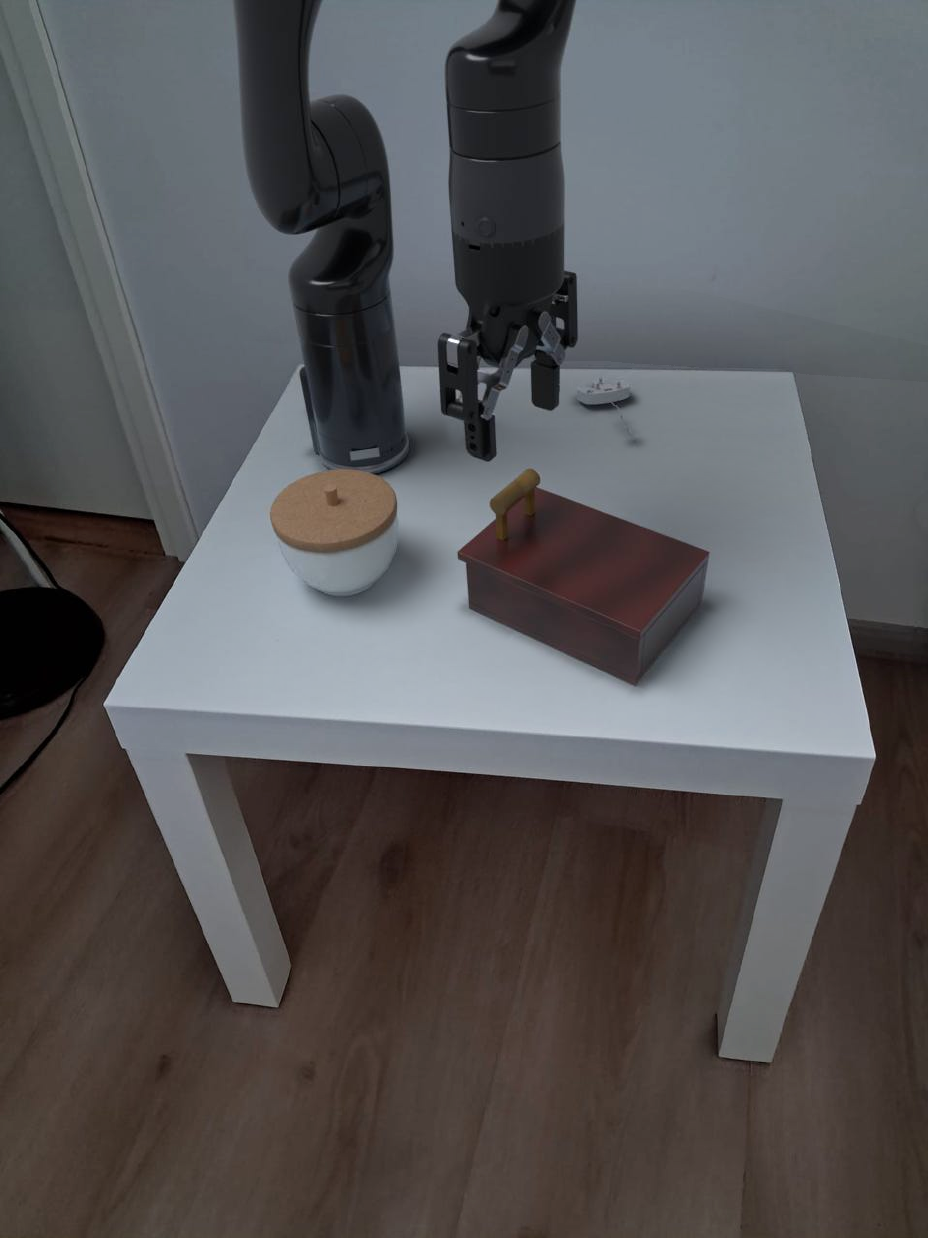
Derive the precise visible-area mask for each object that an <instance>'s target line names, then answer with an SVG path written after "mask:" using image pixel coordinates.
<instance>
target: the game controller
mask: <svg viewBox="0 0 928 1238" xmlns="http://www.w3.org/2000/svg"><path fill="white" fill-rule="evenodd" d="M629 397H630V383H629V382H628V380H626V379H619V380H616V381H615V383H613V384H612V383H610V382H608V381H606V380H604V379H603V378H602V377H599V378H594V379H592V387H589V386H578V387H576V400H578V402H581V403H582V404H585V405H603V404H609V403H611V404H612V406H613V407H616V409H617V411H618V413H619V415H620V420H621V422H622V425H623V426H624V428H625V429H626V430H629V432H630V434H631V435H632V438H633V443H636V439H635V434H634V433H633V431H632V430H631V429H630V428H629V427H627V426H626V424H625V423H624V420H623V415H622V412H621V409H620V408H619V407H618V405H615V404H614V402H618V401H622V400H626V399H628V398H629Z"/></svg>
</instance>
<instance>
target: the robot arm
mask: <svg viewBox="0 0 928 1238" xmlns="http://www.w3.org/2000/svg"><path fill="white" fill-rule="evenodd" d="M323 2H324V0H232V8H233V19H234V27H235V38H236V39H235V40H236V53H237V73H238V89H239V91H238V92H239V106H240V107H239V110H240V126H241V137H242V138H241V140H242V151H243V157H244V163H245V171H246V175H247V180H248V183H249V186H250V187H249V188H250V190H251V194H252V195H253V198H254V200H255V202H256V205H257V208H258V209H259V212H260V213H261V215H262V216H263V218H264V219H265V221H266V222H267V223H268V224H269V225H270V226H271V227H272V228H273V229H275V230H276V231H277V232H279V233H282V234H284V235H288V236H297V235H302V234H306V233H309V232H312V231H315V230H316V231H315V232H314V235H313V237H312V239H310V241H309V242H308V244H307V245H306V246H305V247H304V249H303V250H302V251H301V252H300V253H299V254H298V256H297V257H296V258H295V259H294V260H293V261H292V263H291V265H290V267H289V269H288V274H287V279H288V288H289V293H290V298H291V301H292V307H293V313H294V318H295V324H296V329H297V333H298V339H299V344H300V349H301V350H300V351H301V356H302V360H303V367H301V368H300V370H299V373H298V375H299V380H300V384H301V390H302V395H303V400H304V407H305V410H306V415H307V422H308V426H309V431H310V436H311V441H312V447H313V452H314V453H316V454H318V455H319V458H320V461H321V462H322V464H323V466H325V467H326V468H327V469H328V470H336V469H353V470H360V471H365V472H369V473H372V474H374V475H376V474H379V473H383V472H386V471H387V470H390V469H393V468H394V467H396V466H397V465H399V464H400V463H401V462H403V461H404V460H405V458H407V456H408V454H409V450H410V441H409V435H408V432H407V423H406V413H405V405H404V396H403V395H404V394H403V386H402V378H401V377H402V375H401V368H400V360H399V359H400V358H399V352H398V341H397V333H396V332H397V331H396V325H395V317H394V308H393V298H392V290H391V281H390V273H391V270H392V267H393V263H394V256H395V242H394V226H393V209H392V206H393V205H392V188H391V187H392V186H391V177H390V176H391V174H390V167H389V159H388V153H387V149H386V145H385V140H384V138H383V135H382V133H381V132H382V131H381V129H380V127H379V124H378V123H377V121H376V119H375V117H374V115H373V114H372V112H371V111H370V110H369V108H368V107H367V106H366V105H365V104H364V103H363V102H362V101H360V100H359V98H356V97H354V96H352V95H349V94H347V93H335V94H331V95H327V96H323V97H320V98H316V99H313V100H310V59H311V58H310V57H311V47H312V42H313V37H314V32H315V27H316V24H317V20H318V18H319V17H318V16H319V14H320V10H321V7H322V5H323ZM576 3H577V0H497V2H496V6H495V8H494V10H493V13H492V15H491V16H490V17H489V18H488V20H487V21H486V22H484V23H482V25H480V26H479V27H477V28H475V29H474V30H472V31H470V32H468V33H467V34H465V35H464V36H462V37H460V38H459V39H458V40H456V41H455V42H454V43H452V44H451V46H450V47H449V48H448V50H447V52H446V55H445V59H444V75H443V76H444V91H445V92H444V93H445V95H444V96H445V105H446V118H447V119H446V121H447V131H448V132H447V133H448V146H449V147H448V148H449V152H448V153H449V159H448V161H449V163H448V177H447V178H448V180H447V181H448V183H447V184H448V187H447V188H448V201H449V203H448V205H449V217H450V228H451V229H450V230H451V243H452V255H453V270H454V284H455V287H456V289H457V291H458V293H459V294H460V295H461V297H462V298H463V299H464V301H465V302H466V304H467V306H468V317H467V322H466V326H465V329H464V330H462V331H461V332H459V333H457V334H451V333H447V332H442V333H441V334H440V335H439V337H438V340H437V361H438V380H439V381H438V383H439V402H440V413H441V415H443V416H447V417H451V418H453V419H456V420H460V421H462V422H463V428H464V430H463V431H464V440H465V450H466V451H467V454H469V455H470V456H471V457H473V458H476V459H478V460H481V461H484V462H487V463H489V462H491V461H493V460H494V459H495V458H496V457H497V455H498V449H497V429H496V428H497V427H496V415H495V414H494V412H495V408H496V406H497V403H498V399H499V397H500V393H501V392H502V391H503V390H504V391H505V390H506V389H508V387H509V384H510V382H511V379H512V375H513V373H514V370H515V369H516V368H517V367H518V366H519V365H520V364H521V363H522V362H523V361H524V360H525V359H529V358H532V359H534V360H532V361H531V362H530V397H531V399H530V400H531V403H532V405H533V406H534V407H536V408H540V409H543V410H545V411H549V412H553V411H554V410H555V409H556V408H558V407H559V405H560V393H561V385H560V384H561V381H560V380H561V365H562V364H563V363H564V361H565V358H566V350H567V349H568V348H571V349H573V348H575V346H576V345H577V344H578V343H577V342H578V340H579V334H578V333H579V329H578V328H579V326H578V325H579V323H578V320H579V319H578V275H577V274H576V272H574V271H568V270H565V223H566V222H565V210H566V209H565V208H566V207H565V206H566V205H565V203H566V202H565V200H566V198H565V197H566V184H565V183H566V182H565V170H564V162H563V153H562V140H561V139H562V93H561V92H562V66H563V60H564V56H565V51H566V47H567V43H568V39H569V36H570V33H571V32H570V31H571V26H572V22H573V19H574V13H575V8H576ZM557 319H561V320H562V321H563V328H562V327H557ZM481 360H483V362H484V363H485V364H486V365H488V366H490V367H495V368H497V370H496V371H495V372H493V373H491V372H487V371H483V370H480V363H481ZM480 384H484V385H485V386H486V387H485V389H484V393H483V396H482V399H479V385H480ZM457 391H459V396H458V398H457Z"/></svg>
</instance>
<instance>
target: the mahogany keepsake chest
mask: <svg viewBox="0 0 928 1238" xmlns="http://www.w3.org/2000/svg"><path fill="white" fill-rule="evenodd" d="M708 564H709V559H708V560H707V562H706V563H705V564H704V565H703V566H702V567H701V569H700V570H699V571H698V572H697V573H696V574H695V576H694V577H693V578H692V579H691V580H690V581H689V582H688V584H687V585H686V586H685V587H684V588H683V589H682V591H681V592H680V593H679V594H678V595H677V596H676V598H675V599H674V600H673V601H672V602H671V603H670V604H669V606H668V607H667V608H666V609H665V610H664V611H663V613H662V614H661V615H660V616H659V617H658V618H657V620H656V621H655V622H654V623H653V624H652V625H651V626H650V628H649V629H648V630H647V631H646V632H645V633H644V635H643V636H642V637H641V638H640V639H638V638H636V637H634V636H632V635H629V634H627V633H625V632H622V631H620V630H618V629H616V628H613V627H611V626H609V625H606V624H604V623H602V622H600V621H597V620H595V619H593V618H591V617H588V616H586V615H584V614H581V613H579V612H577V611H575V610H572V609H570V608H568V607H566V606H563V605H561V604H559V603H556V602H554V601H552V600H550V599H547V598H545V597H543V596H541V595H538V594H536V593H534V592H531V591H529V590H527V589H525V588H522V587H520V586H518V585H515V584H513V583H511V582H509V581H506V580H504V579H502V578H500V577H497V576H495V575H493V574H490V573H488V572H486V571H484V570H481V569H479V568H477V567H475V566H472V565H470V564H468V563H465V570H466V584H467V585H466V586H467V598H468V599H467V600H468V609H469V610H471V611H473V612H476V613H478V614H480V615H482V616H484V617H486V618H488V619H491V620H493V621H494V622H497V623H499V624H502V625H504V626H505V627H508V628H510V629H512V630H514V631H516V632H518V633H521V634H523V635H525V636H527V637H529V638H532V639H533V640H535V641H537V642H541V643H542V644H544V645H546V646H549V647H550V648H553V649H555V650H557V651H559V652H561V653H563V654H566V655H567V656H570V657H572V658H574V659H577V660H579V661H580V662H583V663H585V664H587V665H589V666H591V667H594V668H595V669H598V670H600V671H602V672H605V674H608V675H610V676H612V677H615V678H616V679H619V680H622V681H623V682H626V683H627V684H630V685H631V686H634V687H636V686H637V684H638V683H639V682H640V681H641V680H642V678H643V677H644V676H645V675H646V673H647V672H648V671H649V670H650V669H651V668H652V666H653V665H654V664H655V663H656V662H657V660H658V659H659V658H660V657H661V656H662V654H663V653H664V652H665V650H666V649H667V648H668V647H669V646H670V644H671V643H673V642H674V640H675V639H676V637H677V636H678V635H679V633H681V631H682V630H683V629H684V627H686V625H687V624H688V623H689V622H690V620H691V619H692V618H693V617H694V616H695V614H696V613H697V612H698V610H699V609H700V608H702V604H703V598H704V590H705V585H706V578H707V571H708V566H709V565H708Z"/></svg>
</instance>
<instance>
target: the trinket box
mask: <svg viewBox="0 0 928 1238" xmlns="http://www.w3.org/2000/svg"><path fill="white" fill-rule="evenodd" d="M398 518H399V517H398V499H397V495H396V492H395V490H394V488H393V487H392V486H391V485H390V483H389V482H387V480H385V479H384V478H383V477H380V476H379V475H377V474H372V473H369V472H365V471H360V470H353V469H336V470H330V469H328V470H323V471H319V472H314V473H311V474H308V475H305V476H303V477H301V478H299V479H296V480H295V481H293V482H292V483H290V484H288V485H287V486H286V487H284V488H283V489H282V490H281V491H280V492H279V493H278V494H277V496H276V497H275V498H274V500H273V502H272V504H271V506H270V510H269V521H270V524H271V527H272V529H273V532H274V534H275V538H276V542H277V544H278V547H279V550H280V553H281V555H282V556H283V558H284V561H285V563H286V564H287V566H288V567H289V569H290V570H291V572H292V573H293V574H294V575H295V576H296V577H297V578H298V579H299V580H300V581H302V582H303V583H304V584H305V585H307V586H308V587H311V588H313V589H316V590H318V591H319V592H321V593H323V594H325V595H329V596H331V597H350V596H355V595H358V594H360V593H363V592H365V591H367V590H368V589H370V588H372V586H374V585H375V584H376V582H377V581H378V579H379V578H381V577H382V576H383V575H384V573H386V571H387V570H388V568H389V567H390V565H391V563H392V562H393V559H394V557H395V554H396V550H397V547H398V542H399V541H398V540H399V519H398Z"/></svg>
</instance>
